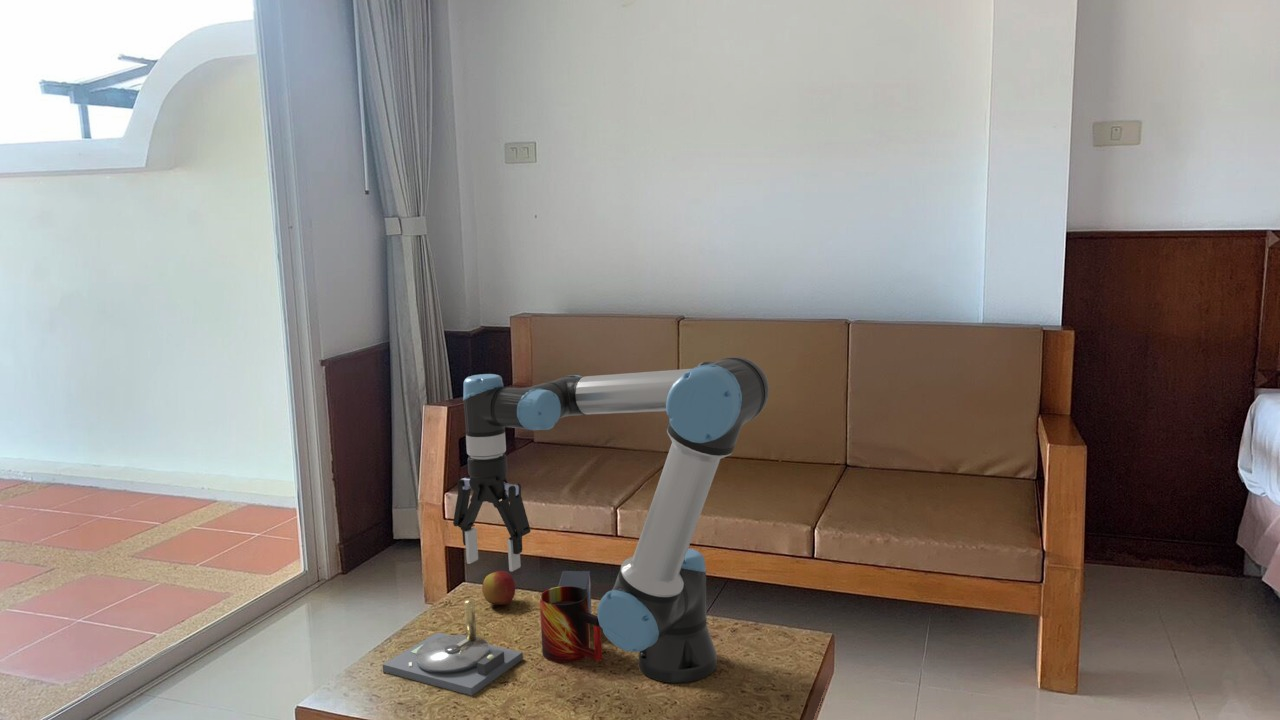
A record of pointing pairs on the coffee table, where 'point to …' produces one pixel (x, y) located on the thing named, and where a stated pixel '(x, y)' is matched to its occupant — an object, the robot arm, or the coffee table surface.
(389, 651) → the coffee table surface
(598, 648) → the mug
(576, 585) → the small box
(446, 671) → the crank wheel
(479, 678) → the record turntable
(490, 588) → the apple
